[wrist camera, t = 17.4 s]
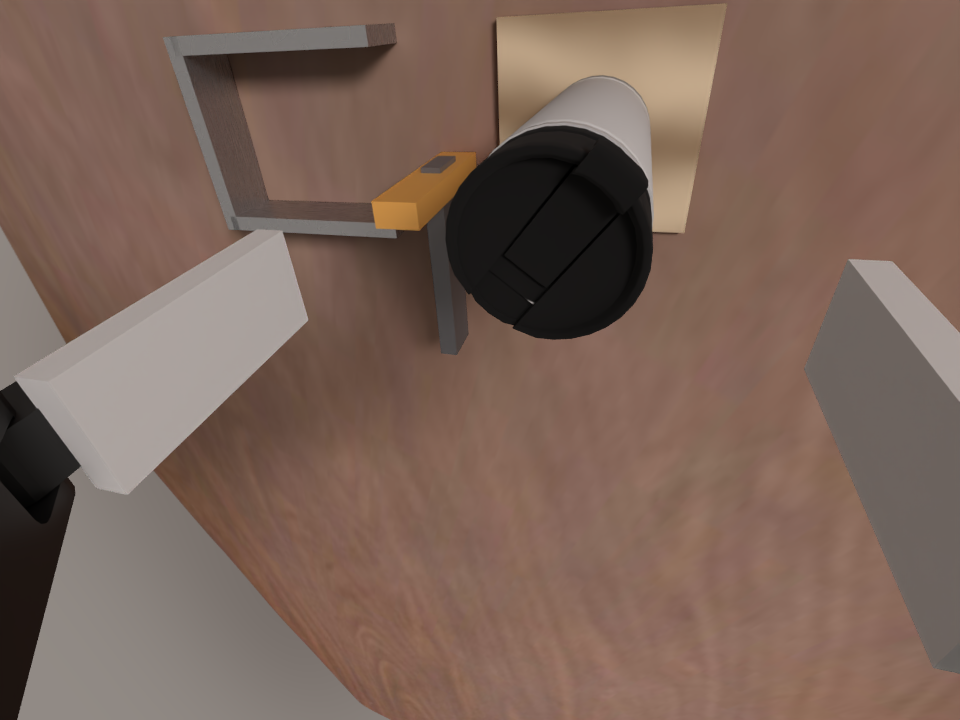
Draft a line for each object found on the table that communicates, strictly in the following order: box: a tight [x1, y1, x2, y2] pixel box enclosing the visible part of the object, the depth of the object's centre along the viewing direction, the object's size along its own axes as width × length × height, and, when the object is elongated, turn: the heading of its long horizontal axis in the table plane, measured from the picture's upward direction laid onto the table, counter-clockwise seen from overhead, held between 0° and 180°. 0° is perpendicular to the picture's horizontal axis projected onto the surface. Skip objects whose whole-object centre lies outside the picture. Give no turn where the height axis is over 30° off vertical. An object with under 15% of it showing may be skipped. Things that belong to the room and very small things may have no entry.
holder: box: [163, 23, 405, 238], centre depth 34 cm, size 12×14×4 cm
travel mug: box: [445, 75, 654, 340], centre depth 22 cm, size 6×7×20 cm
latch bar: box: [371, 152, 476, 355], centre depth 33 cm, size 13×2×11 cm, turn 3°
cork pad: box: [496, 3, 727, 233], centre depth 30 cm, size 12×12×1 cm
